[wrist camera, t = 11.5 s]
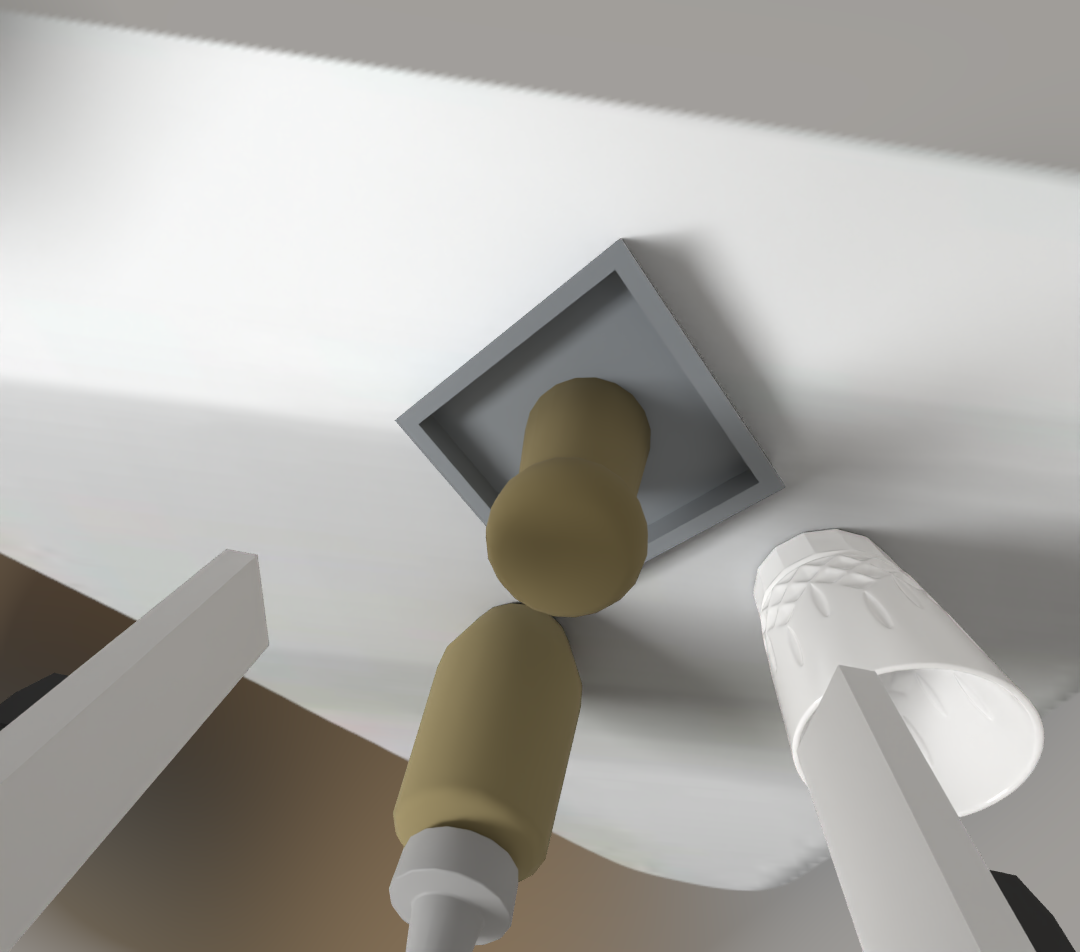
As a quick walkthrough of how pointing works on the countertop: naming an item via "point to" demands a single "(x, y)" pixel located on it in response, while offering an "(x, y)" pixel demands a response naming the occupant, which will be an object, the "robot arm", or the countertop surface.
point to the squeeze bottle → (484, 778)
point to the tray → (613, 355)
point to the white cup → (893, 662)
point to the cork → (574, 502)
